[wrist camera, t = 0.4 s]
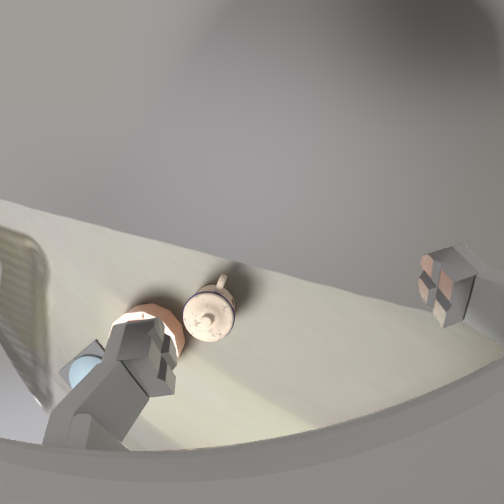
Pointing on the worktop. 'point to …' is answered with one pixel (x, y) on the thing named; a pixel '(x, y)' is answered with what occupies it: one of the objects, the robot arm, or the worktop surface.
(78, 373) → the lid
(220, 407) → the worktop surface
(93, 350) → the mat
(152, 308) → the bowl
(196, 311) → the teacup with lid
